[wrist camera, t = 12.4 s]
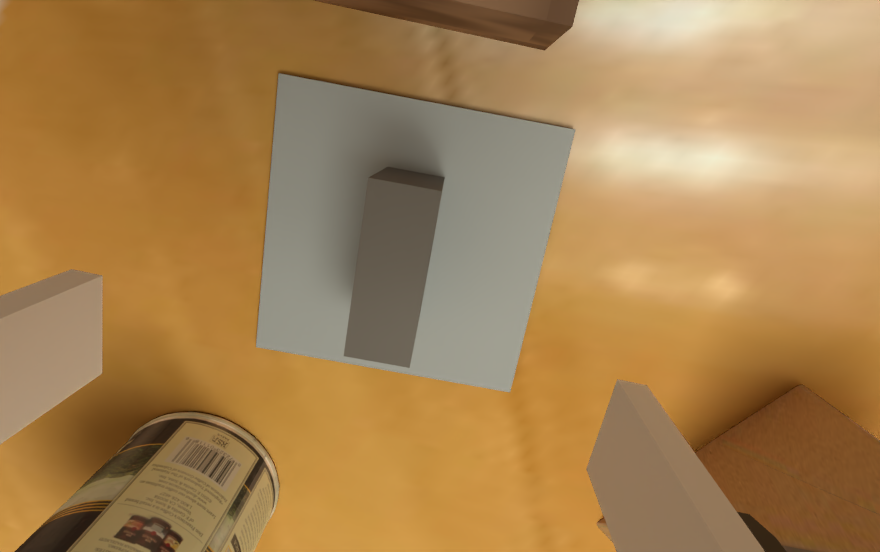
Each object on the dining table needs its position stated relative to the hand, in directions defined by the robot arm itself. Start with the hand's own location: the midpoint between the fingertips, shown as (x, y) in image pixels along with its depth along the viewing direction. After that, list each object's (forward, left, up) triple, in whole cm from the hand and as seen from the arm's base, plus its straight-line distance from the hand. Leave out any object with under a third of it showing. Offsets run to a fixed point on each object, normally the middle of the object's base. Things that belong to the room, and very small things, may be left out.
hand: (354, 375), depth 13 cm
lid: (0, 0, -16) cm, 16 cm away
